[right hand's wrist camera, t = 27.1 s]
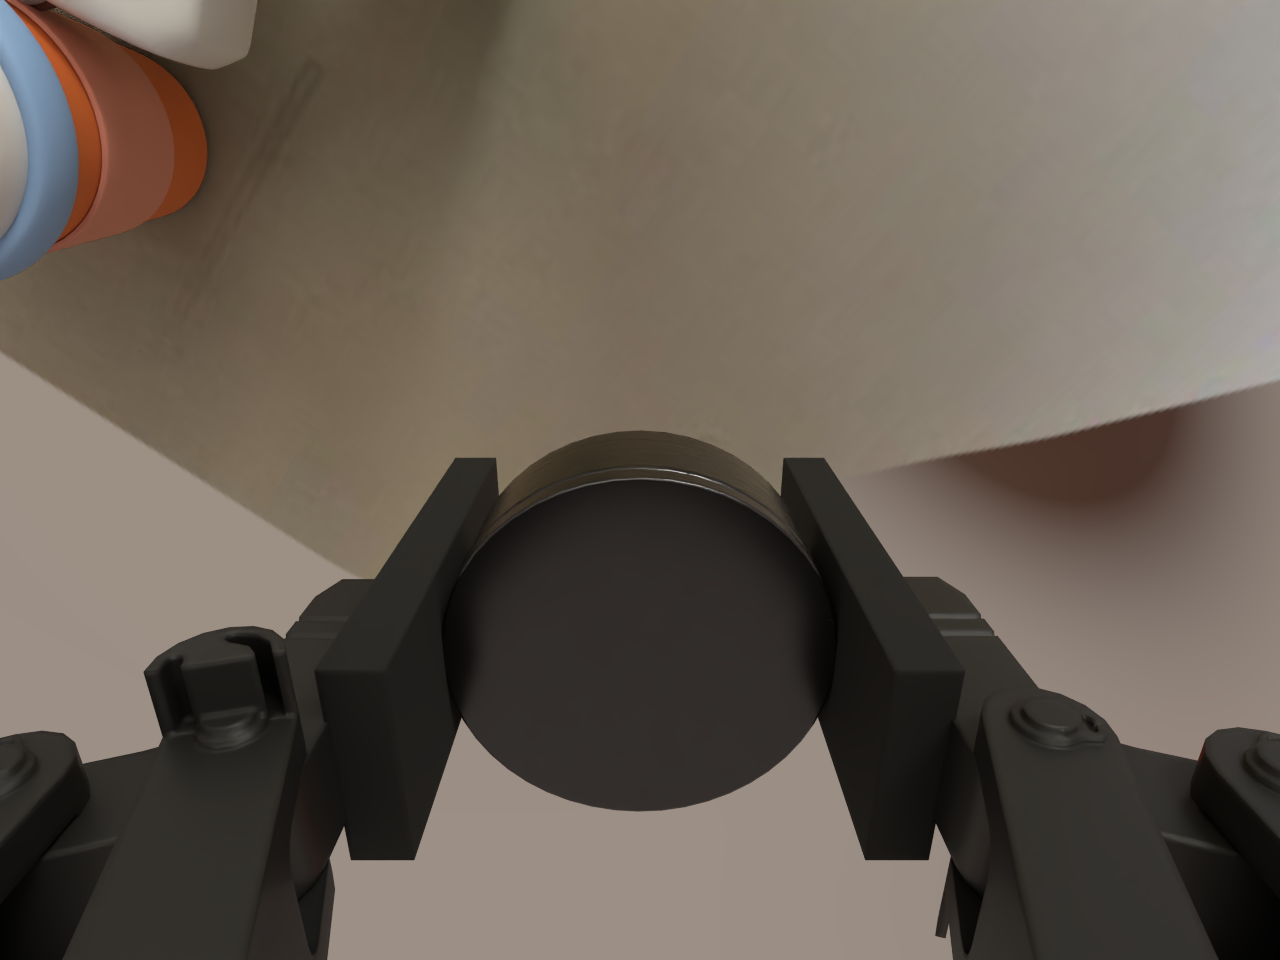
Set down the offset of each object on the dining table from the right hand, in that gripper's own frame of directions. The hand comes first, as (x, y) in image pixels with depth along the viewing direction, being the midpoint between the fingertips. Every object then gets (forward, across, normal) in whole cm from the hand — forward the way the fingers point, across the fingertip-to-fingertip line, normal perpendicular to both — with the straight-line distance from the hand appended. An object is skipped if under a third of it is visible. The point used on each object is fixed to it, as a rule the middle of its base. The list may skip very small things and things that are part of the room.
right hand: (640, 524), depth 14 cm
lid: (-4, 0, 0) cm, 4 cm away
